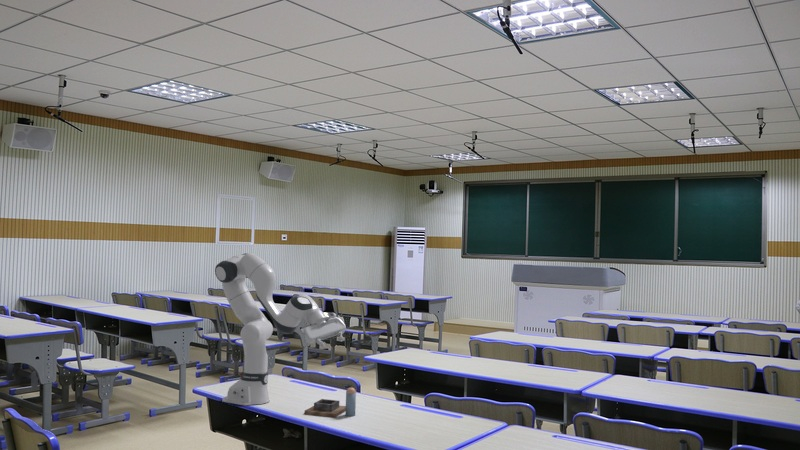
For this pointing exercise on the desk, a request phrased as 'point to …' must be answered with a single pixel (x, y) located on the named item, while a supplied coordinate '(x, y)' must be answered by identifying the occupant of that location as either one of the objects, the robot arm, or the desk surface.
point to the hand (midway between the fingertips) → (333, 343)
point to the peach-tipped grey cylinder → (350, 402)
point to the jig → (326, 408)
